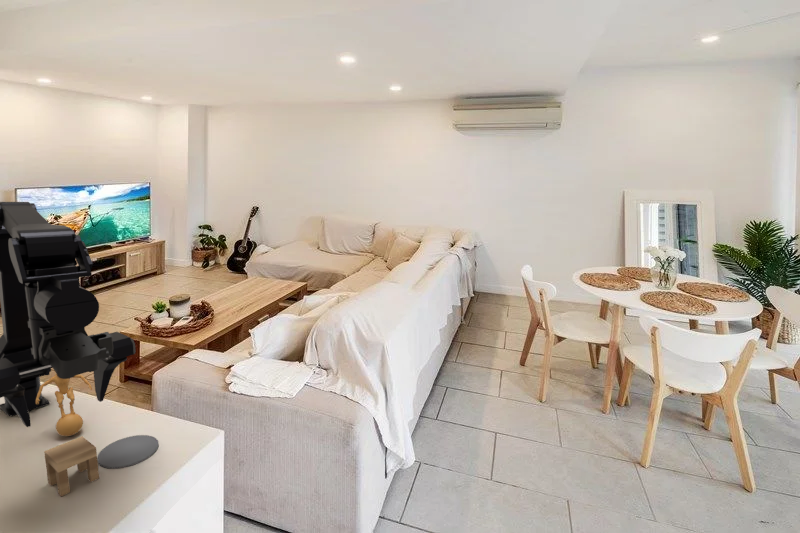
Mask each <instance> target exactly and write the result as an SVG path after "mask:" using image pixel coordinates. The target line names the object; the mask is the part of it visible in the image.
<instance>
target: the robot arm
mask: <svg viewBox="0 0 800 533" xmlns="http://www.w3.org/2000/svg"><path fill="white" fill-rule="evenodd" d="M93 265H94V263H93V261H92V259H91V255H90V254H89V251H88V248H87V246H86V243H85V242H84V241H82V238H81V236H80V235H79V234H76V233H75V231H74V230H73V229H72V227H69V226H67V225H64V224H63V225H62V224H51V223H50V222H49V221H47V219H46V218H45V217H43V215H41V213H40V212H38V209H37V206H36V204H35V203H33V202H29V201H0V311H1V322H2V334H1V336H0V399H1V398H3V399H4V403H1V404H0V410H1V411H2V412H3V413H5V414H6V415H7V416H8V417H13V416H18V418H19V419H20V420H21V422H22V423H23V425H24V426H25V427H27V428H28V427H31V424H32V423H31V417H30V411H32V410H34V409H38V408H41V407H44V406H48V405H50V400H48V399H47V398H45V397H44V396H43V393H42V392H43V391H42V392H41V395H40V397H39V398H38V399H39V400H40V401H38V402H39V404H38V402H37V404H36V397H37V394H38V392H39V388H40V386H41V385H42V384H41V379H40V378H41V377H44V376H50V373H51V372H52V369H53V371H54V372H55V375H56V374H57V376H58V377H59V378H62V379H69V378H70V379H72V377H74V376H75V375H83V374H85V373H93V382H94V391H95V396H96V400H97V401H98V402H100V403H101V402H103V401H104V400H105V399H104V398H105V395H106V393H107V391H108V386H109V384H110V380H111V378H112V376H113V374H114V372H115V370H116V368H117V367H119V365H120V364H122V363H124V362H126V361H127V360H128V357H131V356H133V355H135V354H136V350H137V349H136V343H135V341H134V339H133V338H131V337H130V336H128V335H125V334H123V333H122V332H119V331H114V332H109V331H104V332H101V333H100V332H99V333H96V334H90V335H89V334H88V333H87V330H86V329H85V328H86V327H88V326H89V325H91V323H92V322H93V321H95V319H96V318H97V316H98V314H99V311H100V304H99V303H100V302H99V301H98V299H97V297H96V295H95V294H93V293H92V292H91V291H89V290H87V289H86V288H84V287H82V285H81V282H80V278H83V277H84V278H86V277H92V275H93V274H92V271H91V270H92V269H93Z"/></svg>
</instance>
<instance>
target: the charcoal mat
mask: <svg viewBox="0 0 800 533" xmlns="http://www.w3.org/2000/svg"><path fill="white" fill-rule="evenodd" d="M158 449H159V440H158V439H157V438H156V437H155V436H152V435H148V434H139V435H138V434H137V435H132V436H127V437H124V438H123V437H122V438H121V439H118V440H116V441H113V442H112V443H110V444H108V445H106V446H105V447H104V448H103V449H101V450H100V452H99V453H98V454H97V461H98V466H100V467H103V468H105V469H123V468H128V467H131V466H132V467H133V466H134V465H136V464H139V463H141V462H144V461H146V460H148V459H149V458H150V457H152V456H153V455H154V454H155V453H156V452H157V450H158Z"/></svg>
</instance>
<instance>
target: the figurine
mask: <svg viewBox="0 0 800 533" xmlns="http://www.w3.org/2000/svg"><path fill="white" fill-rule="evenodd" d="M72 378H73V379H74V378H75V379H81V380H82V381H83V382H84V384H86V385H87V386H88V388H89V390H90V391H92V390H93V386H92V385H91V383H90V382H89V381H88V380H87V379H86V378H85V376H84V375H83V374H79V375H75V376H74V377H72ZM72 378H69V379H62V378H59V377H58V376H57V374H56V373H55V374H54V376H52V377H50V378H49V379H48V380H46V381H44V382H43V383H42V384H40V385H41V386H40V388H39V392H38V394H37V397H36V404H37V402H38V401H40V400H39V399H38V398H39V397H40V395H41V392H43V389H44V388H45V387H47V386H48V385H50V384H51V383H54V384H55V385H56V387H57V389H58V390H56V391H54V396H55V398H56V400H55V401H56V403H57V404H58V408H59V409H60V414H61V416H60V417H59V419H57V421H56V425H55V430H56V433H58V434H59V435H60V436H63V437H70V436H73V435H76V434H77V433H79V432H80V430H81V429H82V428H83V426H84V419H83V417H82V416H81V415H80V414H79V413H76V411H75V409H74V404H75V400H76V399H75V394H74V388H73V387H69V383H70V381H71V379H72ZM64 395H66V397H67V398H68V399H69V400H70V401H69V410H70V413H67V414H66V412H65V409H64V404H63V401H64V400H65V396H64ZM38 404H39V402H38Z"/></svg>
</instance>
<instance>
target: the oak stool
mask: <svg viewBox="0 0 800 533" xmlns="http://www.w3.org/2000/svg"><path fill="white" fill-rule="evenodd" d="M43 453H44V459H45V467H46V475H47V483H48V484H49V486H51V487H52V486H55V485H56V486H57V493H58V496H60V497H64V496H66V495H68V494H70V493H71V489H70V480H69V472H68V470H69V469H70V468H72V467H74V466H76V467H77V471H78V472H80V473H82V472H85V471H86V472H87V480H88V479H89V480H90V481H89V480H88V481H89V482H90V483H92V481H93V482H95V481H97V480H98V479H100V473H99V463H98V459H97V458H98V454H97V446H95V445H94V444H93V443H92V442H91V441H89V440H88V439H86V438H85V437H84V436H82V435H80V437H77V438H74V439H72V440H69V441H65V443H62V444H59V445H56V446H54V447H51V448H49V449H46V450H44V451H43Z"/></svg>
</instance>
